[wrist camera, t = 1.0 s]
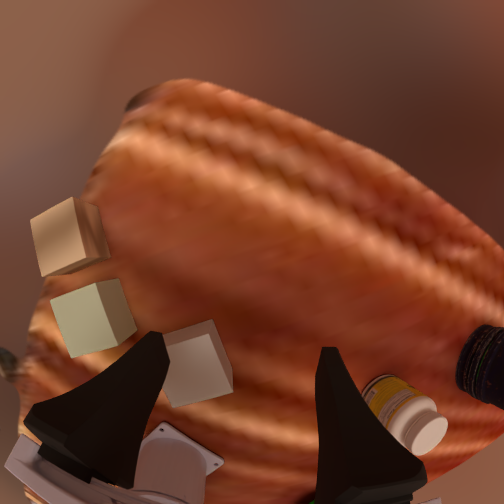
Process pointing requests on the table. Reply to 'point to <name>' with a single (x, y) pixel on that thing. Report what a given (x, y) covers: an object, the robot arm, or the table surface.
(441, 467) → the table surface
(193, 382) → the white cube
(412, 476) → the robot arm
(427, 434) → the supplement bottle
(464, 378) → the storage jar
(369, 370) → the table surface
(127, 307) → the sage block
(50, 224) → the birch block
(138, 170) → the table surface
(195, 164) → the table surface
